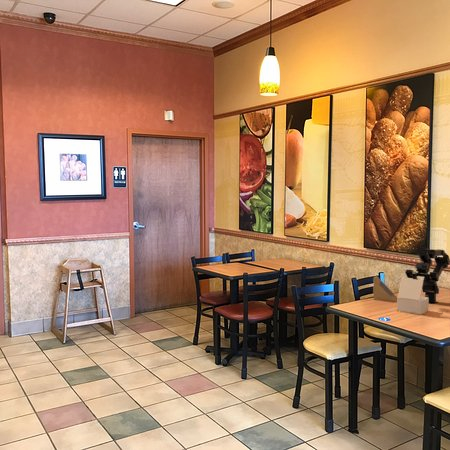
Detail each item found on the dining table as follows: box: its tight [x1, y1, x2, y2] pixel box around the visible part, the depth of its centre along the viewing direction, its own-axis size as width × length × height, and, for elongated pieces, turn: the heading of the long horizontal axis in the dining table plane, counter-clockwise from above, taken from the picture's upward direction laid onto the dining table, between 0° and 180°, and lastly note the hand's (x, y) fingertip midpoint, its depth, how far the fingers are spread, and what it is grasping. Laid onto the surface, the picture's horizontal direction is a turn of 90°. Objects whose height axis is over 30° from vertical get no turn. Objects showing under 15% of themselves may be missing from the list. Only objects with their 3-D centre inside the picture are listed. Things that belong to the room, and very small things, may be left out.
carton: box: [396, 296, 430, 316], centre depth 290 cm, size 12×14×8 cm
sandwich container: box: [372, 275, 398, 303], centre depth 320 cm, size 9×15×15 cm, turn 61°
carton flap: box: [397, 277, 424, 301], centre depth 286 cm, size 12×13×1 cm
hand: (417, 286), depth 295 cm, fingers open, 4 cm apart
